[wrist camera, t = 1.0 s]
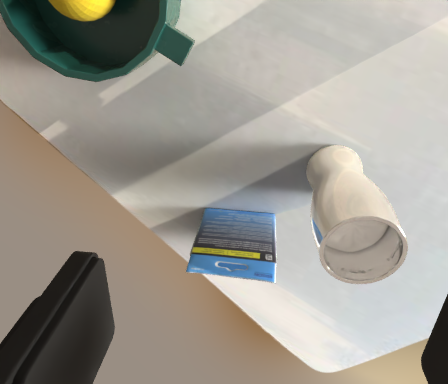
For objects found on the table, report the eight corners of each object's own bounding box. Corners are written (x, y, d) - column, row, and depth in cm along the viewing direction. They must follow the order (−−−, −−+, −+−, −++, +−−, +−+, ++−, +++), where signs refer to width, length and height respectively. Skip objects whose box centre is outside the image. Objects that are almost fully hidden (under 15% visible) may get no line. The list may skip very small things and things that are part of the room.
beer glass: (290, 180, 43) (299, 264, 30) (324, 129, 39) (350, 198, 26) (341, 206, 44) (373, 298, 30) (379, 158, 40) (431, 239, 27)
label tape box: (204, 231, 48) (185, 301, 37) (204, 204, 46) (184, 270, 35) (272, 237, 47) (273, 311, 36) (276, 210, 45) (277, 279, 34)
